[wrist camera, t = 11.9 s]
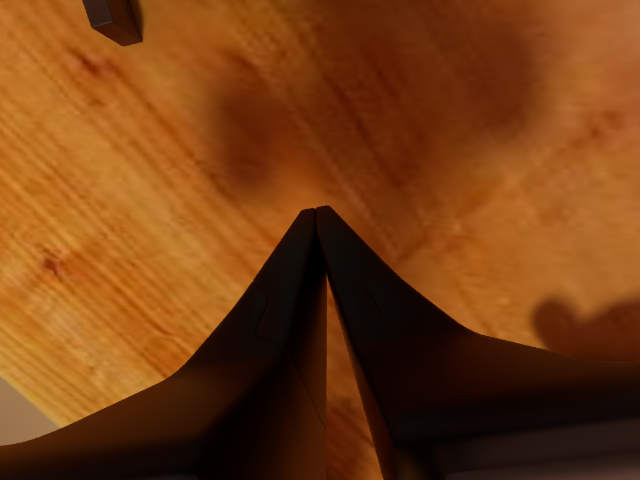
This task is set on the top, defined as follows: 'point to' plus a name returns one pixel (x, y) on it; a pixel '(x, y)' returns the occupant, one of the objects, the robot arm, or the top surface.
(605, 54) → the top surface
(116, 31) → the walnut frame
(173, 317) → the top surface
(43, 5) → the top surface
